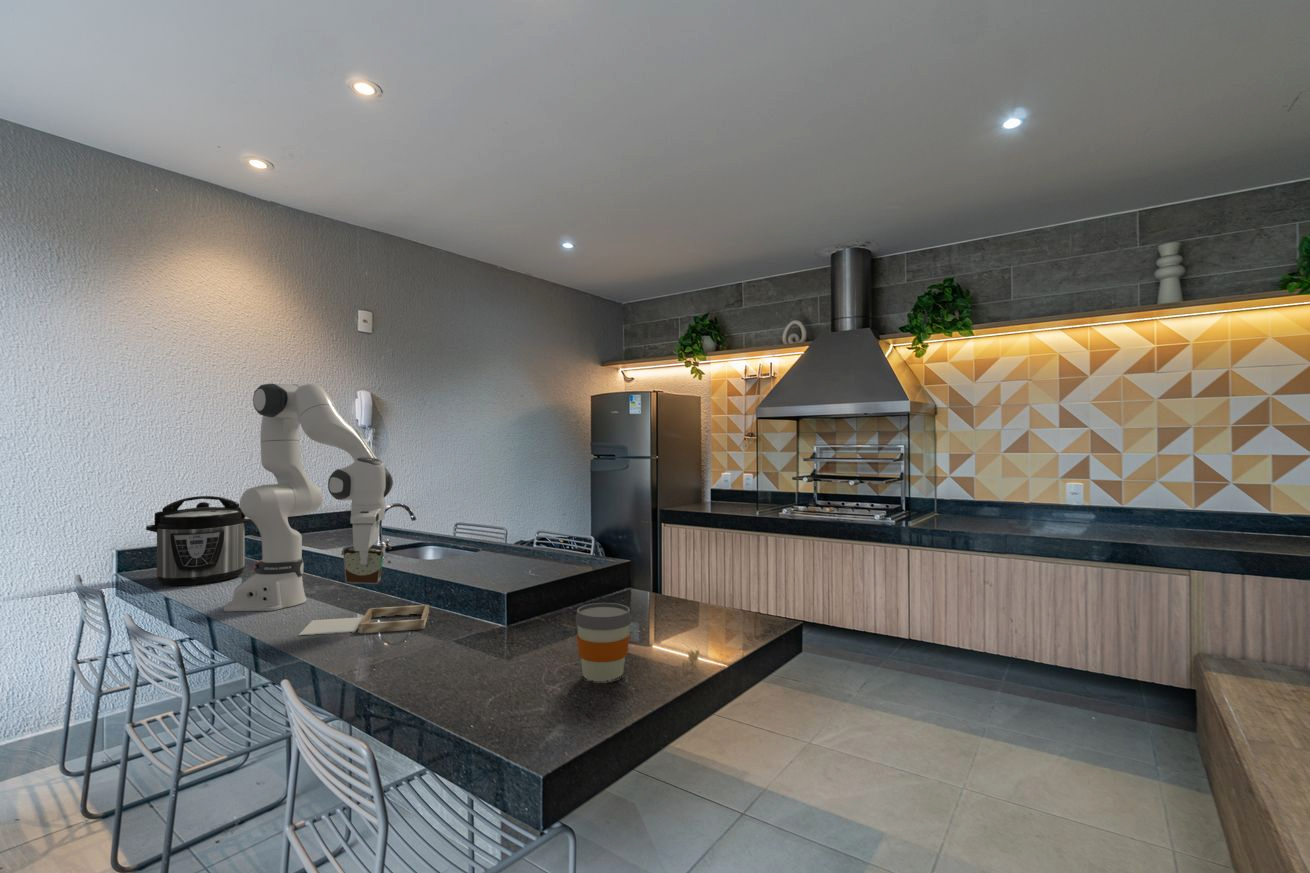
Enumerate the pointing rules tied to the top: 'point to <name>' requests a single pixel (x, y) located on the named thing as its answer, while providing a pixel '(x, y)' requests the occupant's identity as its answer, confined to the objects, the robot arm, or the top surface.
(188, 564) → the pressure cooker
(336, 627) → the mat
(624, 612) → the reusable coffee cup
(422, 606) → the frame
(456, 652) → the top surface
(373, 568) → the food container
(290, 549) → the robot arm
